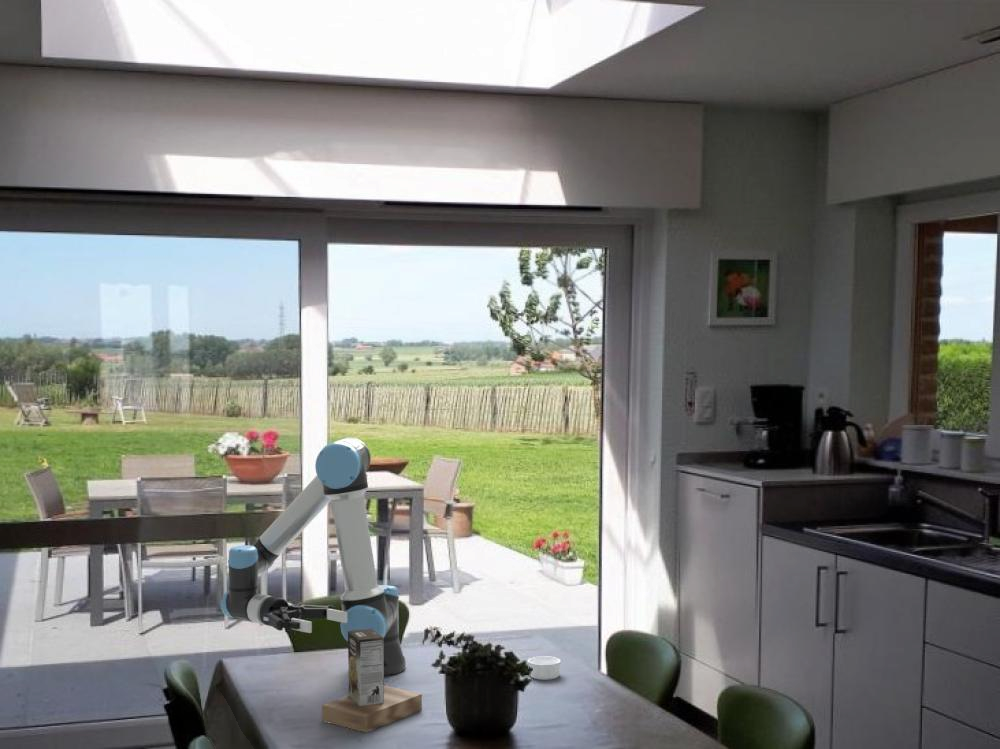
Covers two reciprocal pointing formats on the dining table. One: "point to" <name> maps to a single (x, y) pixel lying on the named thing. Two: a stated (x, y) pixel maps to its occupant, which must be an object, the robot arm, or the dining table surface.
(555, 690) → the dining table surface
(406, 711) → the riser
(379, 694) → the coffee box
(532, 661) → the ramekin
